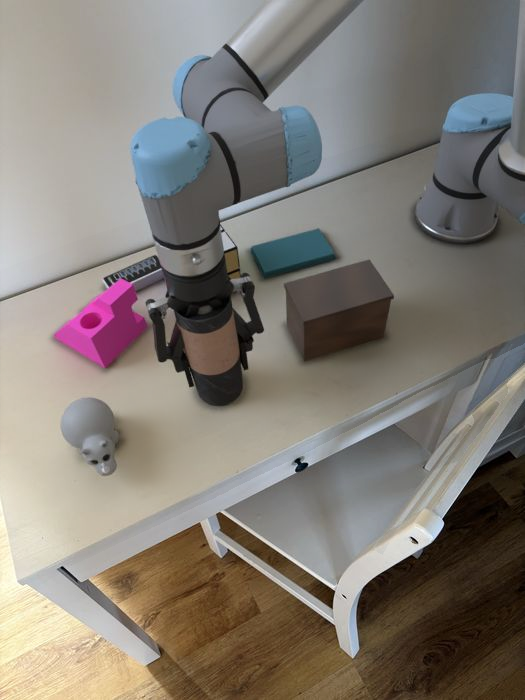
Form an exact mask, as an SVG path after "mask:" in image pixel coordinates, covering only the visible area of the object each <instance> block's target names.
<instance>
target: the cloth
mask: <svg viewBox="0 0 525 700" xmlns="http://www.w3.org/2000/svg"><path fill="white" fill-rule="evenodd" d="M250 253H251V255H252V257H253V259H254V260H255V263H256V265H257V267H258V270H259V271H260V274H261V276H262V278H263V279H268V278H272V277H275V276H279V275H282V274H286V273H289V272H293V271H297V270H300V269H305V268H309V267H311V266H315V265H318V264H322V263H326V262H329V261H333V260H335V259H336V254H335V252H334V251H333V249H332V247H331V246H330V244H329V243H328V241H327V239H326V238H325V236H324V235H323V232H322V231H321V229H320V228H315V229H312V230H308V231H304V232H301V233H297V234H293V235H289V236H285V237H282V238H278V239H274V240H271V241H270V240H269V241H266V242H263V243H259V244H256V245H251V247H250Z"/></svg>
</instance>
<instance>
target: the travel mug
mask: <svg viewBox="0 0 525 700" xmlns="http://www.w3.org/2000/svg"><path fill="white" fill-rule="evenodd" d="M231 295H232V294H231ZM231 295H230V296H229V298H228V299H227V301H226V302H225V303H224V306H225V308H221V309H218V310H214V309H213V308H212V307H211V306H210V305H207V306H203V307H200V308H199V311H198V314H197V315H196V316H193V317H190V318H186V316H185V315H183V314H180V313H179V312H177V311H175V310H173V313H174V317H175V321H177V325H178V328H179V329H180V330H181V333H182V337H183V340H184V344H185V347H184V352H185V355H186V358H187V362H188V365H189V369H190V372H191V376H192V379H193V383H194V387H195V389H196V391H197V392H196V393H197V394H198V396H199V398H200V400H201V401H203V402H204V403H205V404H207V405H210V406H214V407H224V406H228V405H229V404H232V403H234V402H235V401H236V400H237V399H239V397H240V396H241V393H242V391H243V386H244V379H243V371H242V370H243V368H242V365H241V359H240V349H239V343H238V337H237V331H236V327H235V321H234V312H233V308H234V307H233V301H232V296H231Z"/></svg>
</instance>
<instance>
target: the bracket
mask: <svg viewBox="0 0 525 700" xmlns="http://www.w3.org/2000/svg"><path fill="white" fill-rule="evenodd" d="M137 301H139V298H138V295H137V291H135V289H134V286H133V284H131V283H129V282H127V281H125V280H123V279H120V280H118V281H117V282H116V283H114V284H113V285H112V286H111V287H109V288H108V289H105V291H104V292H102V293H100V294H98V295H97V296H96V297H95V298H93V299H92V300H91V301H90V302H89V303H88V304H87V305H85V307H83V308H82V310H81V311H80V312H79V313H78V314H77V315H76V316H73V318H71V319H70V320H68V321H67V322H66V323H65V324H64V325H63V326H61V327H60V328H59V329H57V331H56V332H54V334H53V337H54V338H55V339H56V340H57V341H59V342H60V343H62V344H64V345H66V346H67V347H69V348H71V349H72V350H74V351H76V352H77V353H79V354H81V355H82V356H84V357H86V359H89V360H91V361H92V362H93V363H96V364H97V365H99V366H101V367H102V368H104V369H107V368H108V367H109V366H110V365H111V364H112V363H113V362H114V361H115V359H116V358H118V357H119V356H120V355H121V354H122V353H123V352H124V351H126V349H127V348H128V347H129V346H130V345H131V344H132V343H133V342H134V341H135V340H136V339H137V338H138V337H140V336H141V334H143V332H145V331H146V330H147V329H148V324H147V322H146V319H145V317H144V316H143V315H141V314H139V313H137V312H136V311H134V310H133V308H132V306H133V305H134V304H136V302H137Z"/></svg>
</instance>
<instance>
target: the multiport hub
mask: <svg viewBox="0 0 525 700" xmlns="http://www.w3.org/2000/svg"><path fill="white" fill-rule="evenodd" d="M120 279H123V280H125V281H127V282H129V283H131V284H133V286H134V289H135V292H137V291H140V290H142V289H144V288H146V287H148V286H151V285H153V284H154V283H157V282H159V281H161V280H164V276H163V272H162V268H161V264H160V261H159V258H158V254H153V255H150V256H148V257H146V258H144V259H141V260H139V261H136V262H135V263H132V264H130V265H127V266H126V267H122V268H121V269H118V270H117V271H114V272H112V273H109V274H108V275H105V276H103V277H102V278H101V280H102V282H103V284H104V287H105V290H107V289H108V288H109V287H111V286H112V285H113V284H114V283H116V282H117V281H118V280H120Z"/></svg>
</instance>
